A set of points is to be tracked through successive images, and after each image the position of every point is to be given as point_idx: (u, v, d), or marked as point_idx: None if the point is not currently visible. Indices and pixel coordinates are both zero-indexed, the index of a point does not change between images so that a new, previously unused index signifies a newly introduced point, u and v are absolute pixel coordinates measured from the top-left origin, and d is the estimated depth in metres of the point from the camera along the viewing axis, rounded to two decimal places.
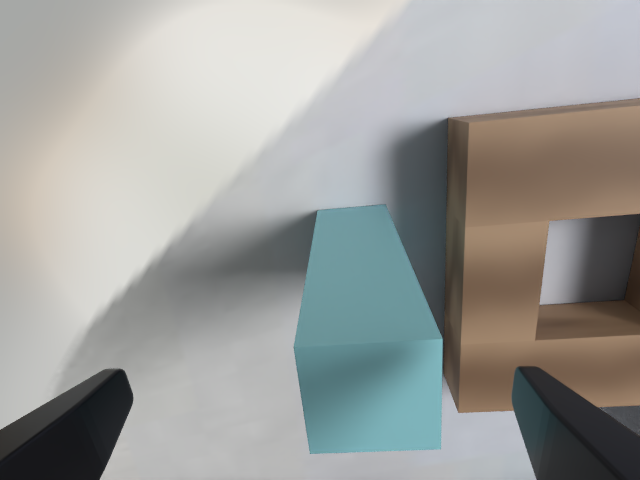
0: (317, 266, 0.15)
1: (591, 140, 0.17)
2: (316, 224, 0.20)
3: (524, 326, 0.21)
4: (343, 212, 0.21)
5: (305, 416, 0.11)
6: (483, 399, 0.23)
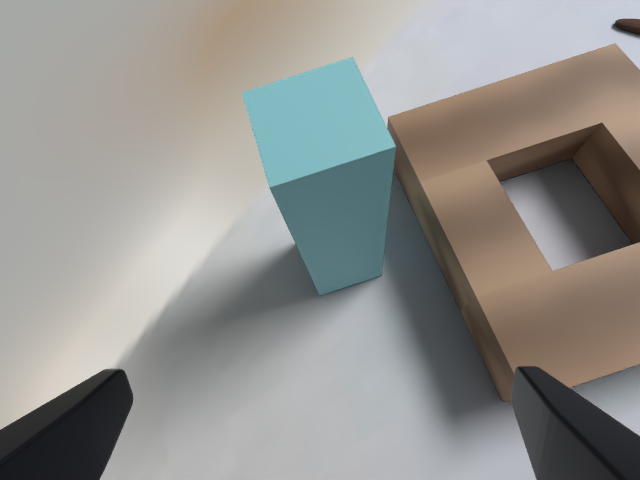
0: None
1: (480, 105, 0.23)
2: None
3: (530, 257, 0.19)
4: None
5: (259, 147, 0.12)
6: (547, 369, 0.17)
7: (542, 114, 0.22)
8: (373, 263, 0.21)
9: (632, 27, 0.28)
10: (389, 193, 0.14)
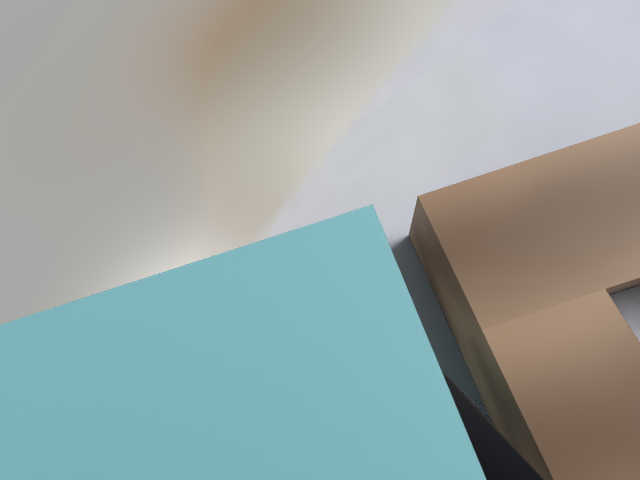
0: None
1: (581, 178, 0.13)
2: None
3: None
4: None
5: None
6: None
7: None
8: None
9: None
10: None
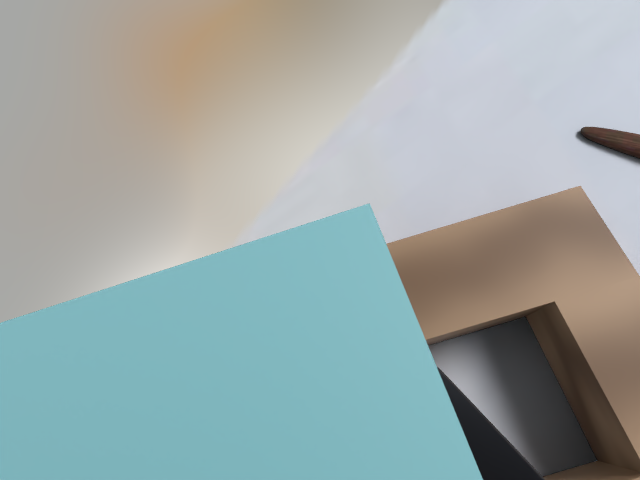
0: None
1: (408, 263, 0.19)
2: None
3: None
4: None
5: None
6: None
7: (481, 283, 0.18)
8: None
9: (599, 139, 0.24)
10: None
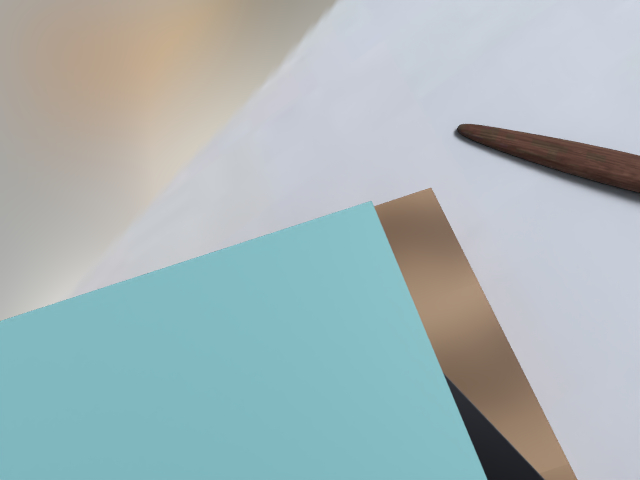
0: None
1: None
2: None
3: None
4: None
5: None
6: None
7: None
8: None
9: (474, 136, 0.23)
10: None
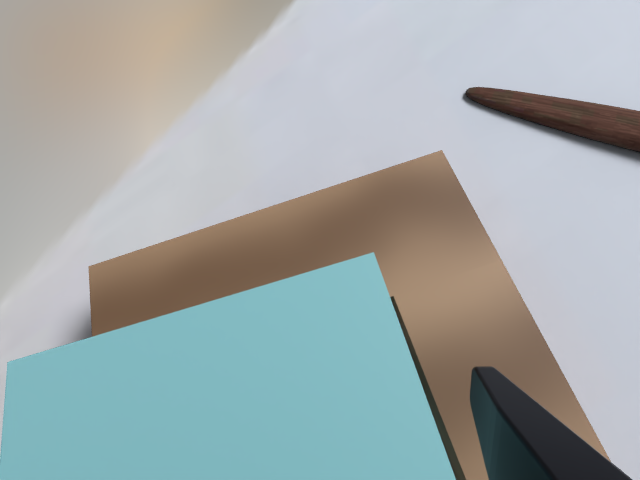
0: None
1: (222, 252, 0.15)
2: None
3: None
4: None
5: None
6: None
7: None
8: None
9: (485, 100, 0.20)
10: None
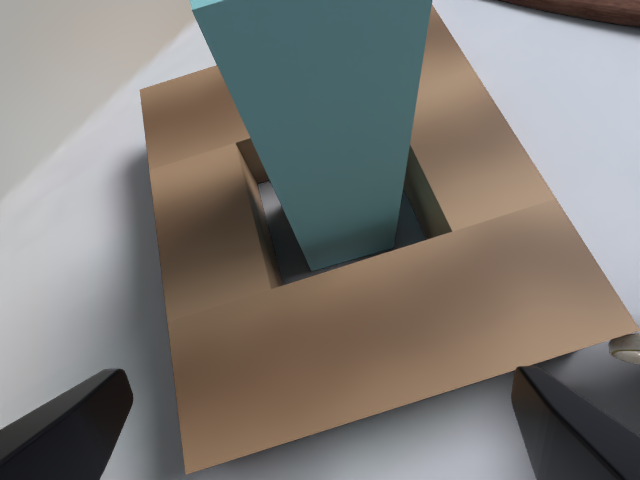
0: None
1: None
2: None
3: (249, 270, 0.14)
4: None
5: None
6: (223, 428, 0.12)
7: None
8: (384, 225, 0.15)
9: None
10: (417, 79, 0.08)
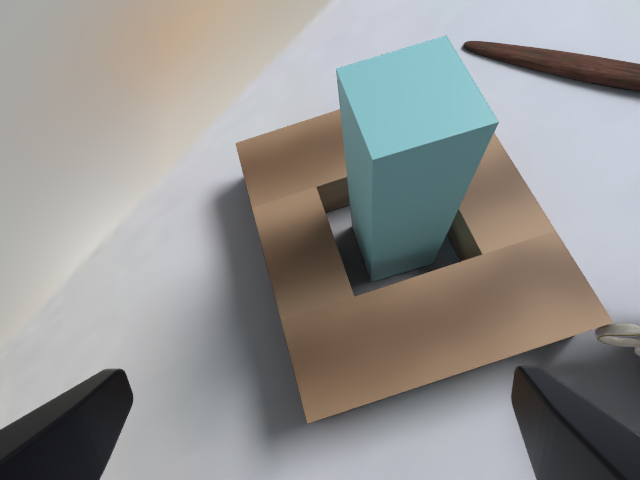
0: None
1: (321, 132, 0.24)
2: (351, 207, 0.23)
3: (337, 283, 0.20)
4: None
5: (358, 121, 0.12)
6: (330, 392, 0.18)
7: None
8: (430, 249, 0.21)
9: (477, 49, 0.29)
10: (473, 173, 0.14)
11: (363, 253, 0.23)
